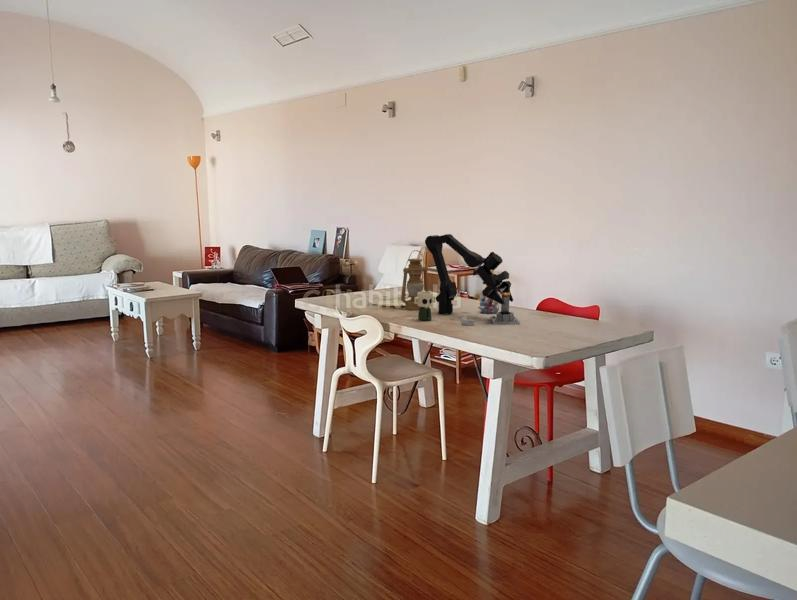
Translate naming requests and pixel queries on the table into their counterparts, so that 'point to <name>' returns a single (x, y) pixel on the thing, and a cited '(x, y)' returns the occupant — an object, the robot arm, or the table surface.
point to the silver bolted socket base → (504, 318)
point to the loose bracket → (467, 321)
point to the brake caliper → (488, 305)
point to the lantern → (414, 282)
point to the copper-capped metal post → (505, 302)
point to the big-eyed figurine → (424, 304)
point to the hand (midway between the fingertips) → (508, 302)
